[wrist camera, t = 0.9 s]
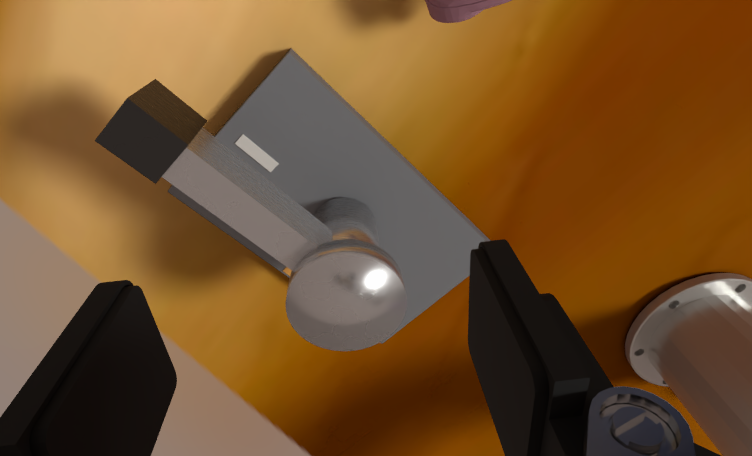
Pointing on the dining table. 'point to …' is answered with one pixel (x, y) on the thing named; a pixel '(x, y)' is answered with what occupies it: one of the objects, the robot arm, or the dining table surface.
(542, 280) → the dining table surface
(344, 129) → the base plate
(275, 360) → the dining table surface
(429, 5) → the video game controller
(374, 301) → the lever
